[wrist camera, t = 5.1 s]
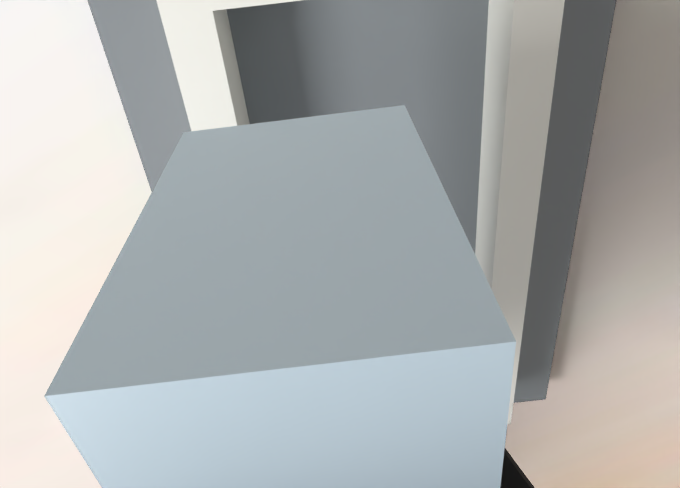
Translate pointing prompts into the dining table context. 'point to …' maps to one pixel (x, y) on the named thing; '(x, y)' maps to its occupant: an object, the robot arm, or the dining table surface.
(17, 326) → the dining table surface
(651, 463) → the dining table surface
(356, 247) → the block
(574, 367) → the dining table surface
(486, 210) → the cradle jig
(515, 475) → the robot arm
